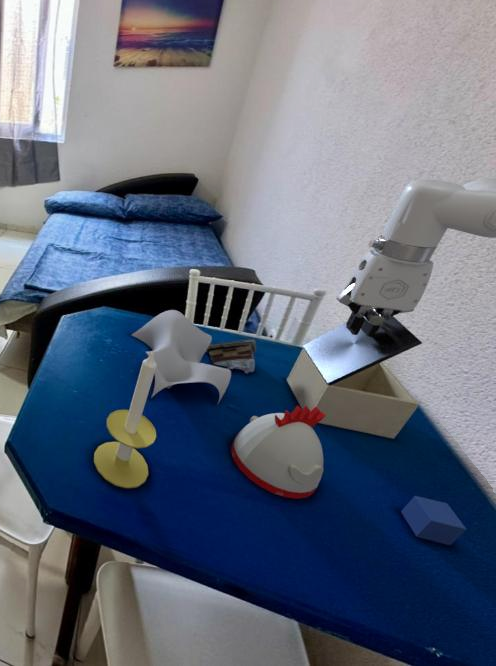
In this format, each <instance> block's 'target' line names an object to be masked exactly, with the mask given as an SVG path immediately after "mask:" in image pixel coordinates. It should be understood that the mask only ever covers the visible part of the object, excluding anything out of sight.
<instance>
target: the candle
mask: <svg viewBox="0 0 496 666" xmlns="http://www.w3.org/2000/svg"><path fill="white" fill-rule="evenodd" d="M152 351H153V350H152ZM153 352H154V351H153ZM156 366H157V365H156V363H155V361H154V354H153V353H151V355H150V356H147V358H145V359H143V360H142V364H141V367H140V370H139V374H138V376H137V381H136V384H135V388H134V392H133V394H132V395H133V396H132V399H131V402H130V406H129V409H117V410H114V411H113V412H110V413H109V415H108V417H107V418H106V428H107V431H108V432H109V435H111V436H112V437H113V439H115V441H107V442H104V443H102V444H100V445H99V446H98V447H97V448H96V450H95V451H94V453H93V463H94V465H95V468H96V471H97V472H98V473H99V474H100V475H101V477H103V478H104V480H106V481H107V482H109V483H110V484H112V485H114V486H116V487H120V488H123V489H135V488H139V487H140V486H142V485H143V484H145V483H146V481H147V478H148V476H149V467H148V464H147V462H146V460H145V458H144V456H143V455H142V454H141V453H140V452H139V451H138V450H137V449H146V448H148V447H150V446H152V445H153V444H154V443H155V441H156V439H157V431H156V428H155V426H154V425H153V423H152V422H151V420H149V419H148V418H147V417H146V416H145V415H143V412H144V409H145V405H146V402H147V399H148V396H149V394H150V393H149V392H150V389H151V386H152V383H153V379H154V377H155V370H156Z"/></svg>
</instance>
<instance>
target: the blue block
mask: <svg viewBox="0 0 496 666" xmlns="http://www.w3.org/2000/svg"><path fill="white" fill-rule="evenodd" d="M400 513H401V514H402V516H403V518H404V519H405V521H406V522H407V524H408V526H409V528H410V529H411V530H412V532H413V533H414V535H415V537H416V538H419V539H422V540H428V541H432V542H434V543H438V544H442V545H446V546H451V545H452V544H453V543H454V542H455V541H456V540H458V539H459V537H461V535H463V533H465V532H466V531H467V528H466V526H465V525H464V524H463V522H462V521H461V519H460V518H459V517H458V516H457V514H456V513H455V512H454V510H453V509H452V508H451V506H450V505H449V504H448V502H443V501H438V500H435V499H429V498H426V497H422V496H418V495H413V497H412V498H411V499H410V500H409V502H408V503H407V504H406V506H404V507H403V509H402V510H401V511H400Z"/></svg>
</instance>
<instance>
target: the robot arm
mask: <svg viewBox="0 0 496 666" xmlns="http://www.w3.org/2000/svg"><path fill="white" fill-rule="evenodd" d="M448 229H449V230H454V231H458V232H462V233H465V234H470V235H473V236H478V237H482V238H489V239H491V238H492V239H496V176H491V177H485V178H480V179H476V180H472V181H469V182H467V183H465V184H462V185H461V184H458V183H455V182H449V181H445V180H437V179H424V178H423V179H415V180H412V181H410V182H409V183H408V184H406V185H405V187H404V189H403V191H402V192H401V194H400V197H398V200H397V202H396V205H395V206H394V208H393V210H392V213H391V214H390V217H389V218H388V220H387V222H386V224H385V226H384V228H383V230H382V232H381V234H380V235H379V236H378V238H377V239H371V240H369V242H368V247H369V248H373V249H370V250H368V252H366V254H365V255H364V256H363V257H362V258H361V260H359V263H358V264H357V266H356V267H355V269H354V270H353V272H352V274H351V275H350V276H349V278H348V280H347V282H346V284H345V287H344V290H343V291H342V292H341V293H340V294H339V295H338V296H336V300H337V301H338V302H339V303H340V304H342V305H344V306H346V307H348V308H349V310H350V311H351V314H350V315H349V317H348V319H347V321H346V322H347V323H346V322H345V323H346V327H347V329H348V330H349V331H350V332H351V333H352V334H353V335H357V334H358V333H359V331H360V329H361V330H362V331H363V332H364V333H365V334H366V335H367V336H368V337H373V336H374V334H375V332H377V331H378V329H379V327H380V326H379V325H377V326H374V325H371V324H370V323H369V322H368V321H367V320H365V318H364V317H363V316H364V315H365V313H366V311H367V309H368V307H373V308H374V307H376V308H375V310H376V311H377V312H378V313H379V314H380V315H381V316H382V317H383V318H384V321H387V320H388V319H389V317H392V316H394V317H395V316H396V315H399V314H405V313H412V312H414V311H415V309H416V308H417V306H418V304H419V302H420V301H421V300H422V297H423V295H424V294H425V291H426V289H427V286H428V285H429V282H430V280H431V276H432V272H433V268H434V262H433V261H432V260H431V258H432V257H433V254H434V253H435V251H436V249H437V247H438V246H439V244H440V242H441V240H442V239H443V237H444V235H445V234H446V232H447V230H448ZM362 325H363V326H362Z"/></svg>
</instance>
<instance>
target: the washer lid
mask: <svg viewBox="0 0 496 666" xmlns="http://www.w3.org/2000/svg"><path fill="white" fill-rule="evenodd" d="M375 308H376V307H368V309H367V311H366V313H365V315H364V316H363V317H364V318H365V320H367V321H368V322H369V323H370V324H371V325H374V326H377V325H379V326H380V327H379V329H378V331H377V332H375V334H374V336H373V337H368V336H367V335H366V334H365V333H364V332H363V331H362V330H361V329H360V331H359V333H358V334H357V335H353V334H352V333H351V332H350V331H349V330H348V329H347V327H346V323H347V321H345V322H344V323H342V324H340V325H338V326H336V327H334V328H333V329H331V330H329V331H326V332H325V333H323V334H321V335H320V336H317V337H316V338H314V339H312V340H310V341H308V342H306V343H305V344H302V348H305V350H306V351H307V353H308V355H309V356H310V358H311V359H312V361H313V362H314V364H315V365H316V367H317V368H318V370H319V371H320V373H321V374H322V376H323V378H324V379H325V381H326V382H327V384H328V385H329V386H331V385H333V384H335V383H337V382H340V381H342V380H344V379H346V378H348V377H350V376H353V375H355V374H357V373H359V372H361V371H363V370H366V369H368V368H370V367H372V366H374V365H376V364H379V363H381V362H383V363H384V362H385V361H388V360H389V359H392V358H394V357H396V356H398V355H401V354H403V353H405V352H406V351H409V350H411V349H413V348H416V347H418V346H420V345H422V344H423V342H422V341H421V340H420V339H419V338H418V337H417V336H416V335H414V334H413V333H412V332H411V331H410V330H409V329H408V328H407V327H406V326H405V325H404V324H403V323H401V321H399V319H397V318H396V317H395V315H394V316H392V317H389V319H388V320H387V321H384V318H383V317H382V316H381V315H380V314H379V313H378V312H377V311H376V310H375ZM362 326H363V325H362Z"/></svg>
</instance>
